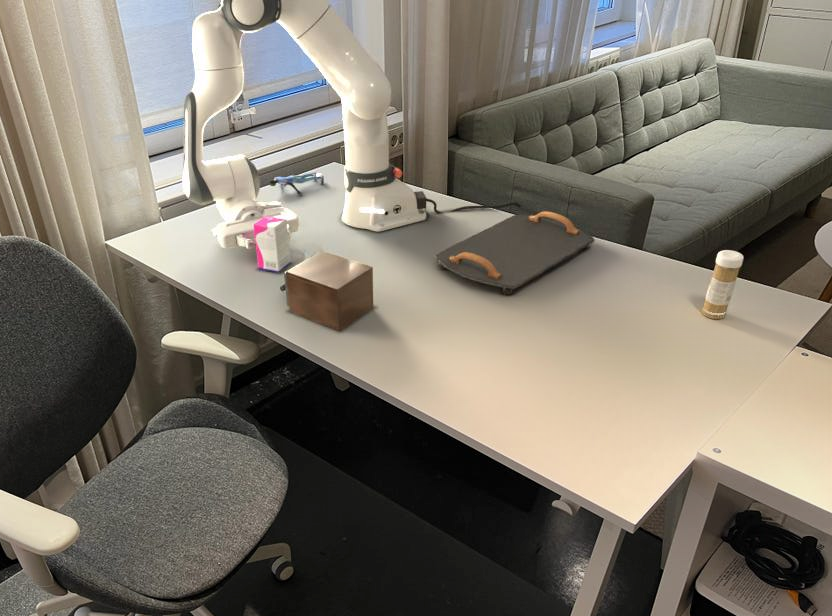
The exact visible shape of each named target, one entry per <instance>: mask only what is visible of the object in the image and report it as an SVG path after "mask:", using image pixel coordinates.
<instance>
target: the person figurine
mask: <svg viewBox="0 0 832 616" xmlns="http://www.w3.org/2000/svg"><path fill="white" fill-rule="evenodd" d="M324 178H325V177H324V175H323V174H322V173H320V172H319V173H317V172H313V173H304V174H301V175H299V174H298V175H297V174H296V175H293V174H291V175H289V176H287V177H283V176H280V175H279V176H276V177H274V179H269V180H268V185H269V186H270V187H275V186H276V185H277V184H279V185H280V186H281V187H287V186H291V188H293V189H294V190H295V191H296V194H297V195H299V196H302V192H301V191H300V190H299V189H298V188H297V187H296V185H295V184H304V183H308V182H311V181H314V182H317V181H319V182H320V184H321V185H322V186H323V185H324V183H325V179H324Z"/></svg>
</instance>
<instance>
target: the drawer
mask: <svg viewBox="0 0 832 616" xmlns="http://www.w3.org/2000/svg"><path fill="white" fill-rule="evenodd" d="M283 278H284V279H283V280H284V284H282V285H281V286H280V287H279V290H280V291H281V292H285V299H286V300H285V301H286V306H288V307H289V300H288V290H287V279H286V271H284V272H283Z"/></svg>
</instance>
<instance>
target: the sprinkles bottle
mask: <svg viewBox="0 0 832 616" xmlns="http://www.w3.org/2000/svg"><path fill="white" fill-rule="evenodd" d="M744 258H745V257H744V255H743V254H742V253H741V252H738V251H736V250H730V249H724V250H720V251H718V253H717V254H716V258H715V266H714V269H713V273H712V275H711V279H710V282H709V285H708V288H707V292H706V295H705V300H704V304H703V307H704V309H705V310H707V311H709V312H712V313H724V312H726V313H725V314H724V315H719V316H718V315H711V314H708V313H706V312H705V311H704V310H703V308H702V309H701V313H702V315H703V316H705V317H706V318H708V319H711V320H722V319H724V318H725V317H726V316H727V310H728V307H729V305H730V302H731V299H732V296H733V293H734V289H735V285H736V283H737V279H738V275H739V272H740V269H741V267H742V265H743V263H744Z"/></svg>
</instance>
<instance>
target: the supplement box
mask: <svg viewBox="0 0 832 616" xmlns="http://www.w3.org/2000/svg"><path fill="white" fill-rule="evenodd" d="M254 233H255V241H256V242H255V248H256V257H257V265H258V270H259V271H265V272H270V273H276V274H280V273H282V272H283V271H284V270H285V269H286V268H288V267H289V266H290V265H291V263H292V262H291V253H290V243H289V242H290V241H289V239H288V231H287V220H286V219H284V218H277V217H270V216H265V217H264V218H262V219H261V220H259V221H258V222H256V223H255V224H254Z"/></svg>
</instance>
